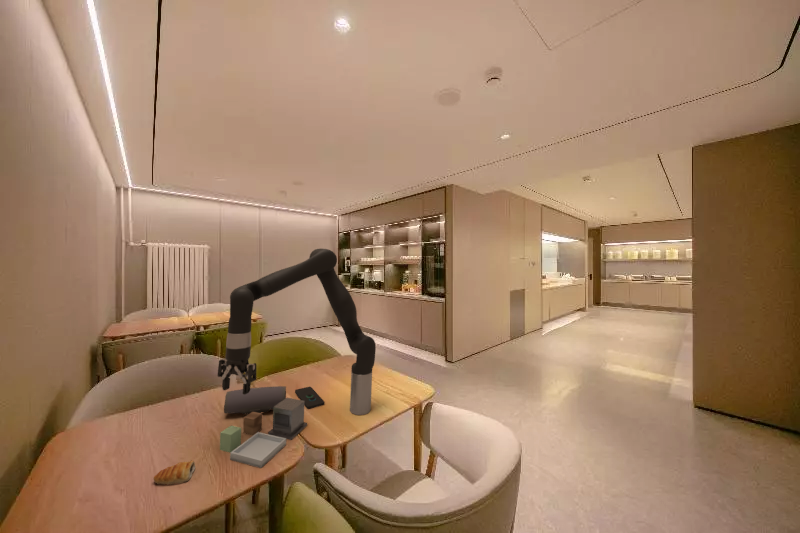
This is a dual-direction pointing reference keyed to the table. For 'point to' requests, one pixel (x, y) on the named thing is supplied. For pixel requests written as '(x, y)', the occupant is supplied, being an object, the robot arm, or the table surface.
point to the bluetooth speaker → (254, 399)
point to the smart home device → (309, 397)
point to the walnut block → (252, 423)
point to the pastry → (175, 473)
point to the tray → (258, 449)
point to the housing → (288, 418)
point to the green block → (230, 438)
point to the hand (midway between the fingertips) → (235, 391)
